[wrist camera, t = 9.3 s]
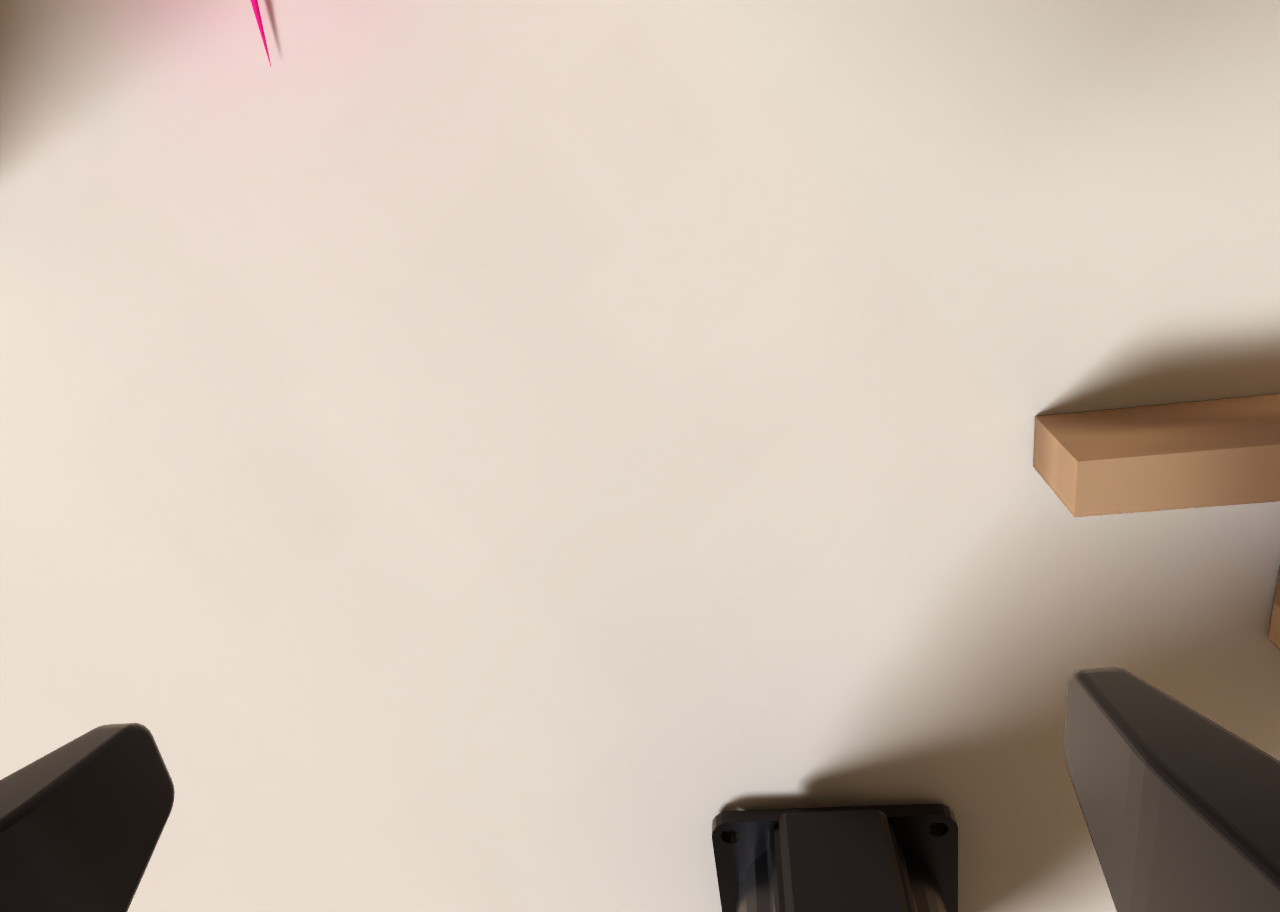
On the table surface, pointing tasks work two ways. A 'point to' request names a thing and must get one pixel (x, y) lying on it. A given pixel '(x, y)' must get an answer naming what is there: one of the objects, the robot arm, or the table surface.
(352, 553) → the table surface
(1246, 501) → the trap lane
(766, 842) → the robot arm
